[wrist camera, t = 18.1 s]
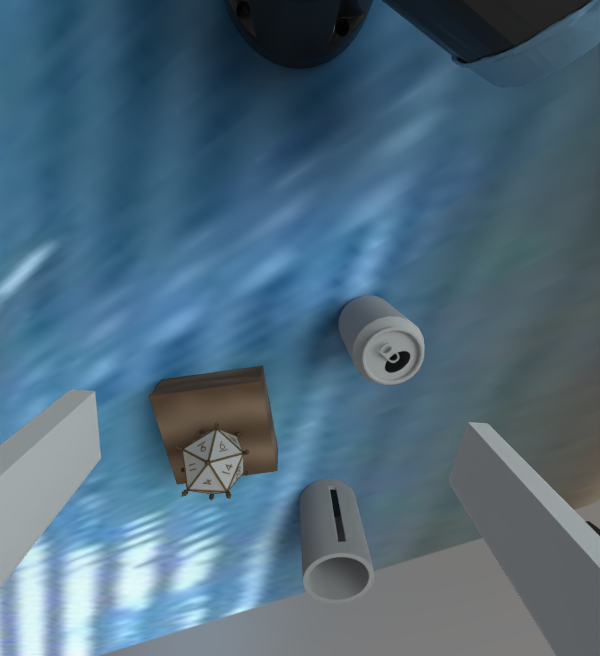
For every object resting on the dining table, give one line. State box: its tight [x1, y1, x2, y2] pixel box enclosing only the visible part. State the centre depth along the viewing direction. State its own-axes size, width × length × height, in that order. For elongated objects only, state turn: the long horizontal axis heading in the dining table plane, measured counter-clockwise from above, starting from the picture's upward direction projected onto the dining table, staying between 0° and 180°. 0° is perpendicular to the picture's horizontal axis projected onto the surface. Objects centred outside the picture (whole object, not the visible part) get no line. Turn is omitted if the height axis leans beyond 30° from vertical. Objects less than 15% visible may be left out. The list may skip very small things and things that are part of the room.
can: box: [338, 295, 425, 385], centre depth 37 cm, size 8×8×12 cm
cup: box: [299, 479, 374, 603], centre depth 47 cm, size 9×9×12 cm
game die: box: [176, 422, 250, 500], centre depth 38 cm, size 9×8×10 cm
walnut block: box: [149, 366, 278, 484], centre depth 45 cm, size 14×14×5 cm
